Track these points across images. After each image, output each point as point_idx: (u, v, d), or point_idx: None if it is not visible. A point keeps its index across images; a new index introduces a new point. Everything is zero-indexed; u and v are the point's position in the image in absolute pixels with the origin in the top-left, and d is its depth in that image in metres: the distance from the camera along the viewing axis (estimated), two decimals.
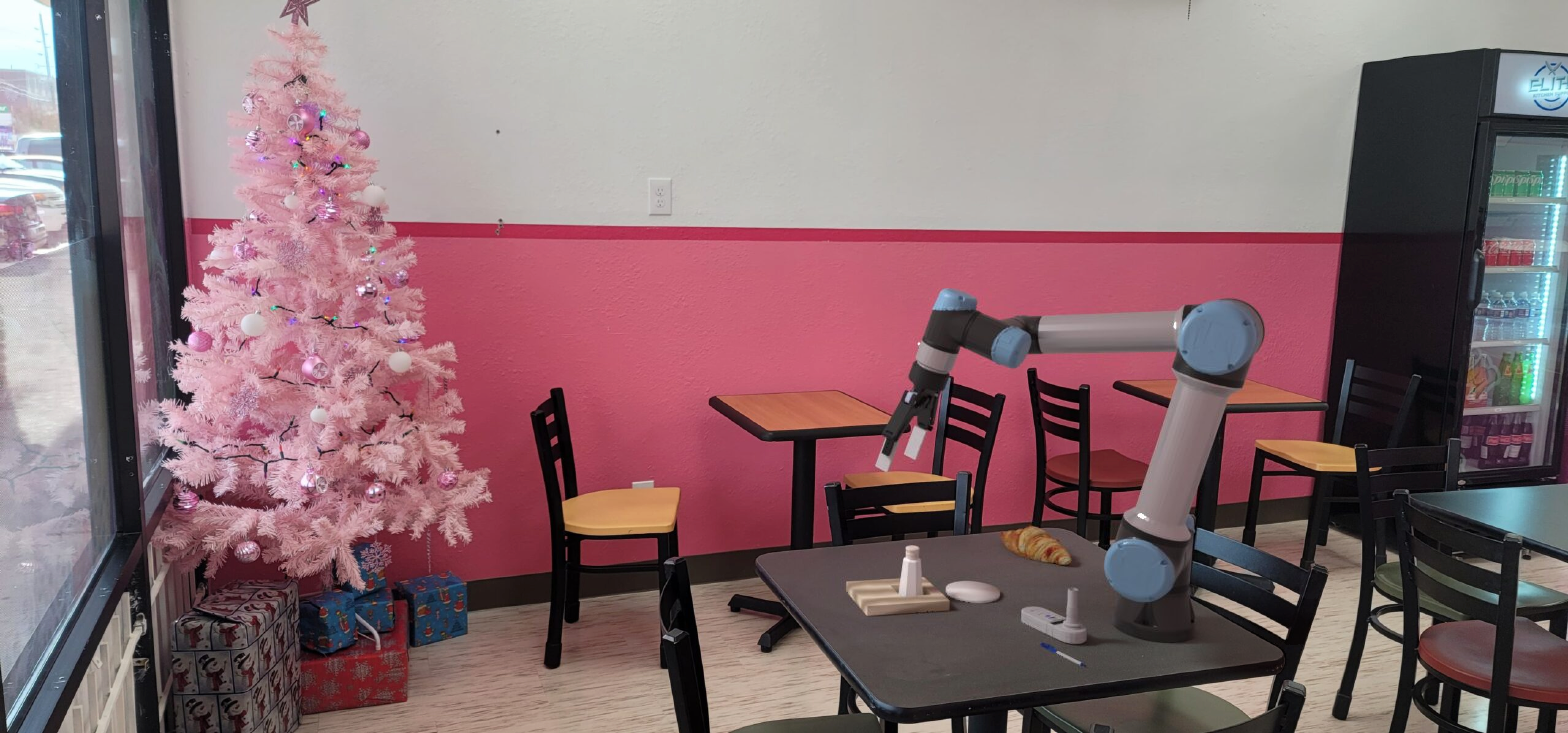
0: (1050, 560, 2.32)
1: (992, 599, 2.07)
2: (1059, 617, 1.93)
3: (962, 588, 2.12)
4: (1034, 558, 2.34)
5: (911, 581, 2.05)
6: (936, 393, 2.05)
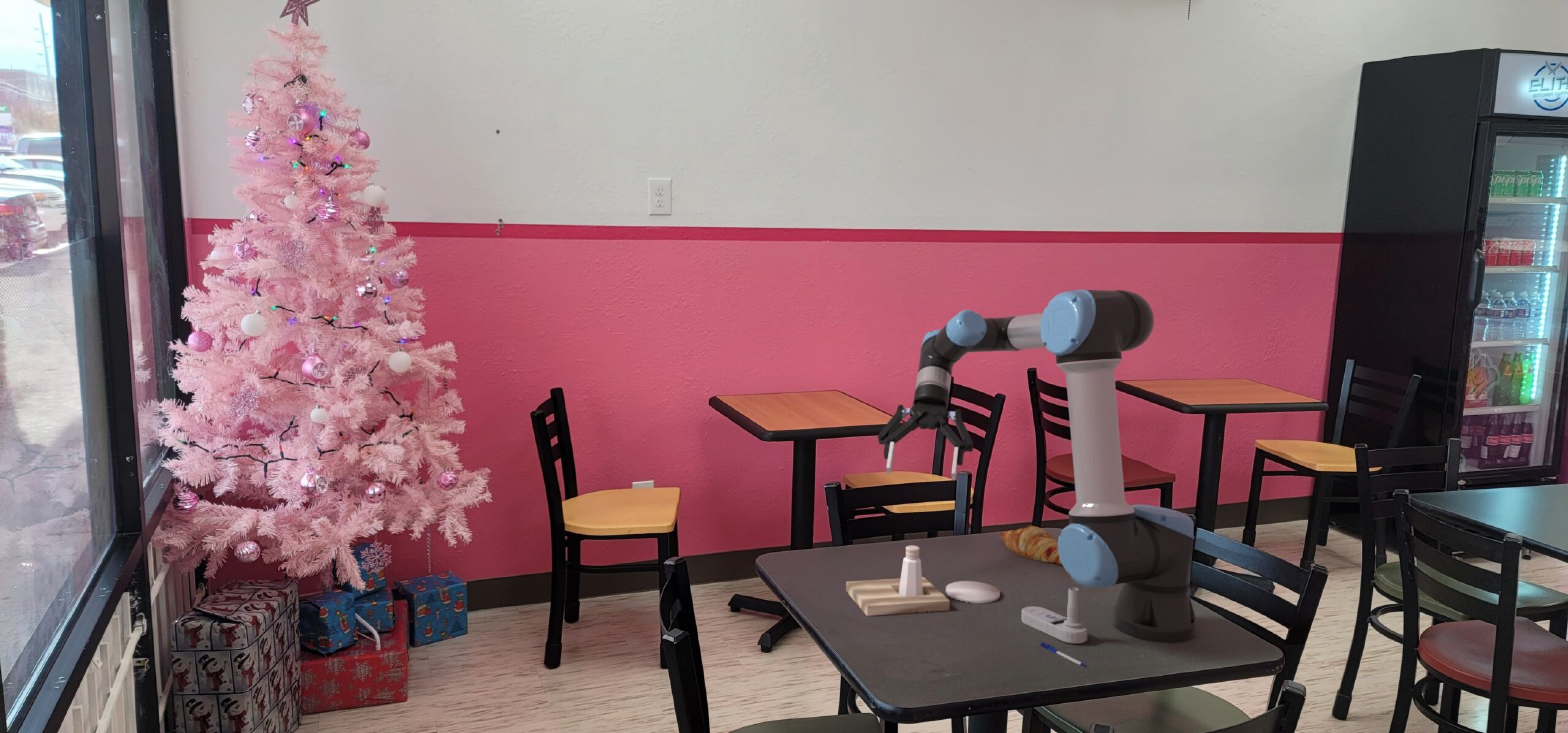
0: (1050, 560, 2.32)
1: (992, 599, 2.07)
2: (1059, 617, 1.93)
3: (962, 588, 2.12)
4: (1034, 558, 2.34)
5: (911, 581, 2.05)
6: None
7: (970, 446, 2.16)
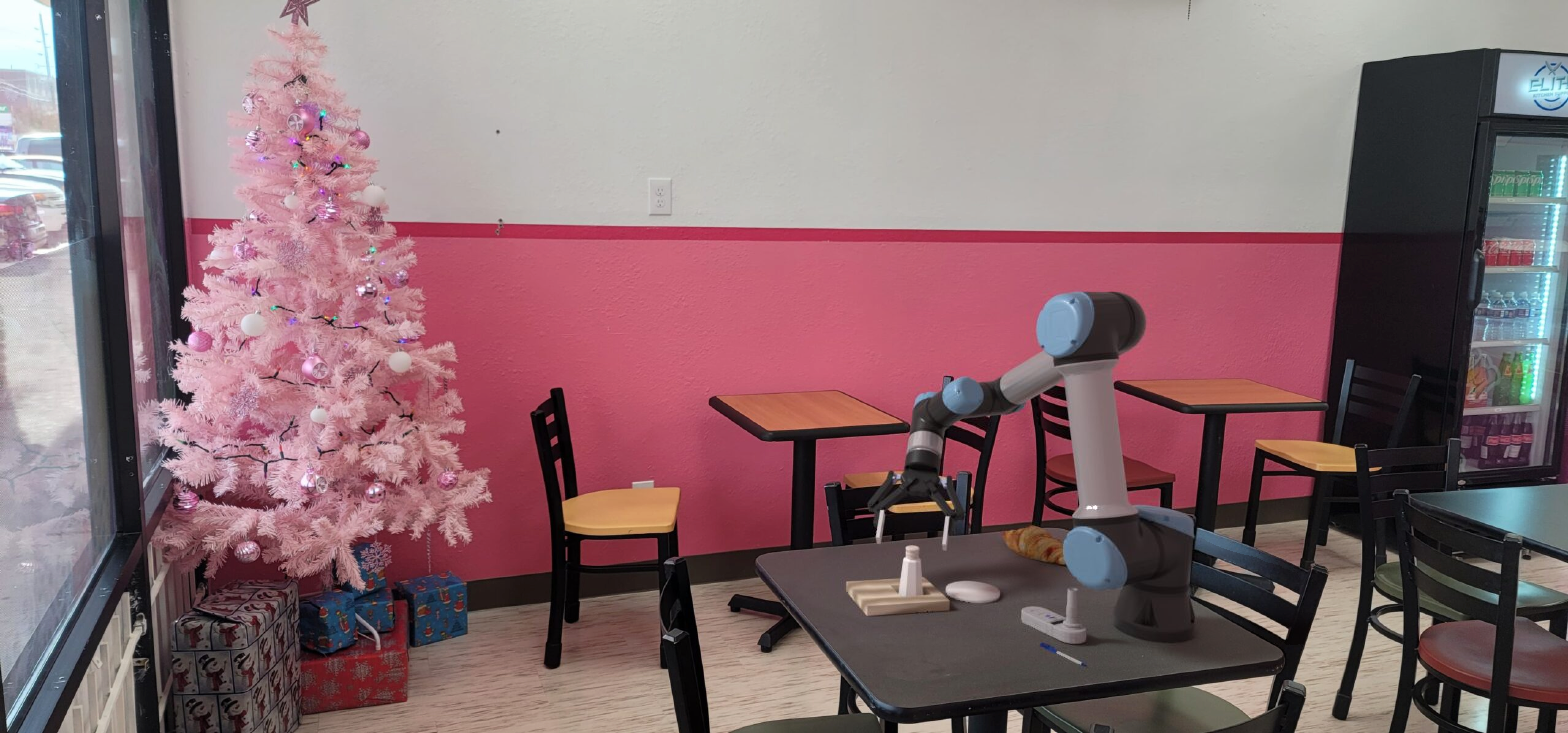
0: (1050, 560, 2.32)
1: (992, 599, 2.07)
2: (1059, 617, 1.93)
3: (962, 588, 2.12)
4: (1034, 558, 2.34)
5: (911, 581, 2.05)
6: None
7: (961, 515, 2.11)
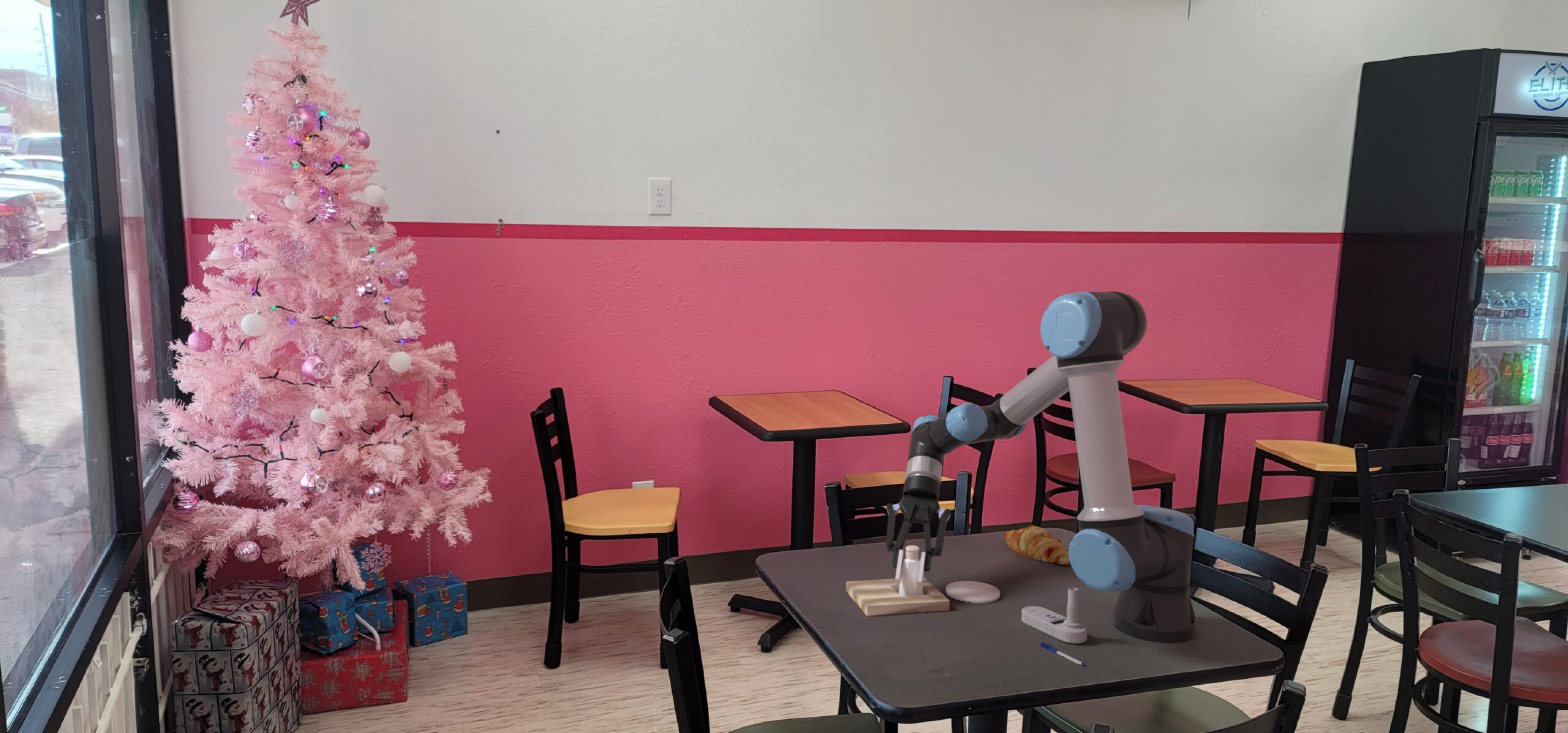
0: (1050, 560, 2.32)
1: (992, 599, 2.07)
2: (1059, 617, 1.93)
3: (962, 588, 2.12)
4: (1034, 558, 2.34)
5: (911, 581, 2.05)
6: None
7: (936, 551, 2.05)
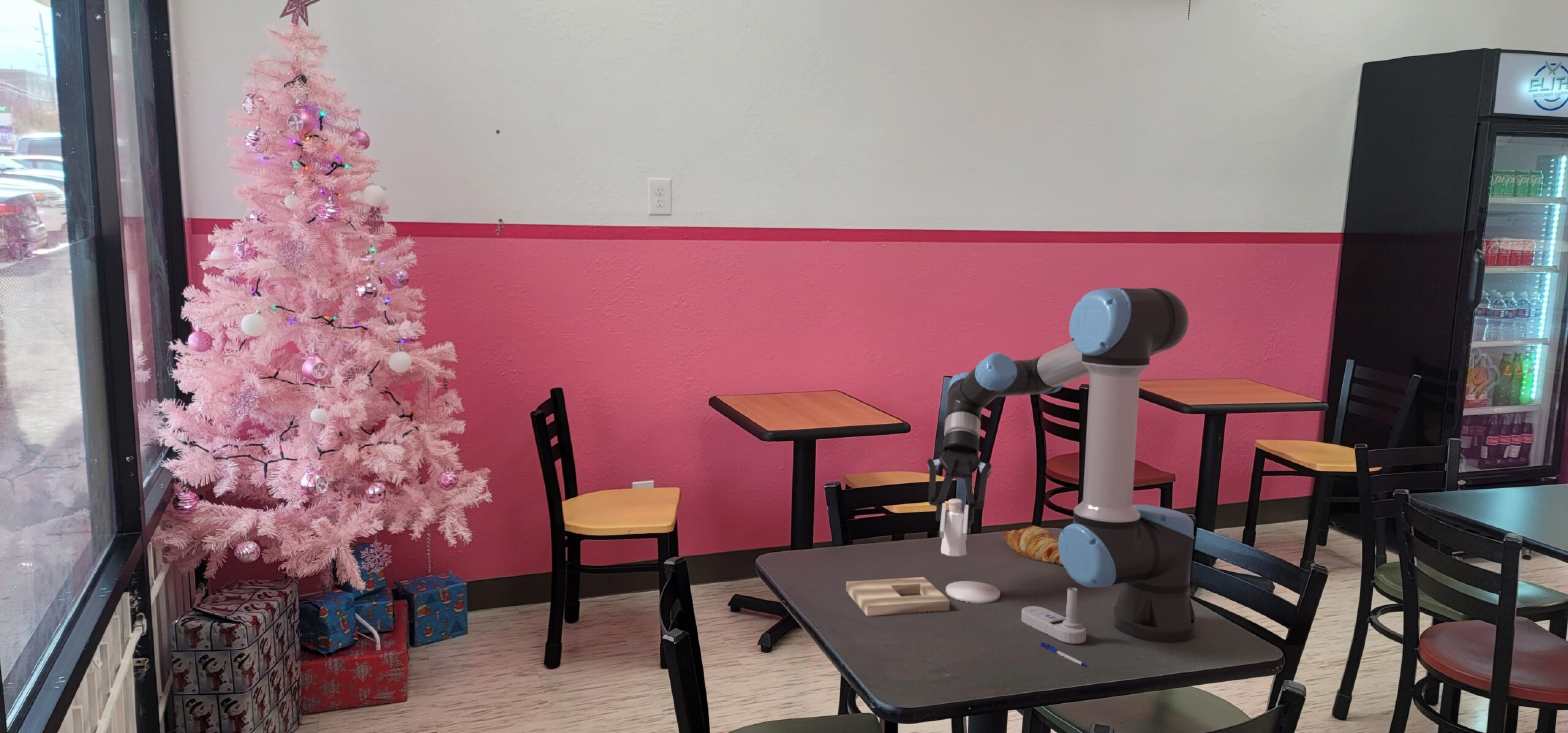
0: (1050, 560, 2.32)
1: (992, 599, 2.07)
2: (1059, 617, 1.93)
3: (962, 588, 2.12)
4: (1035, 558, 2.34)
5: (955, 534, 2.06)
6: None
7: (979, 503, 2.07)
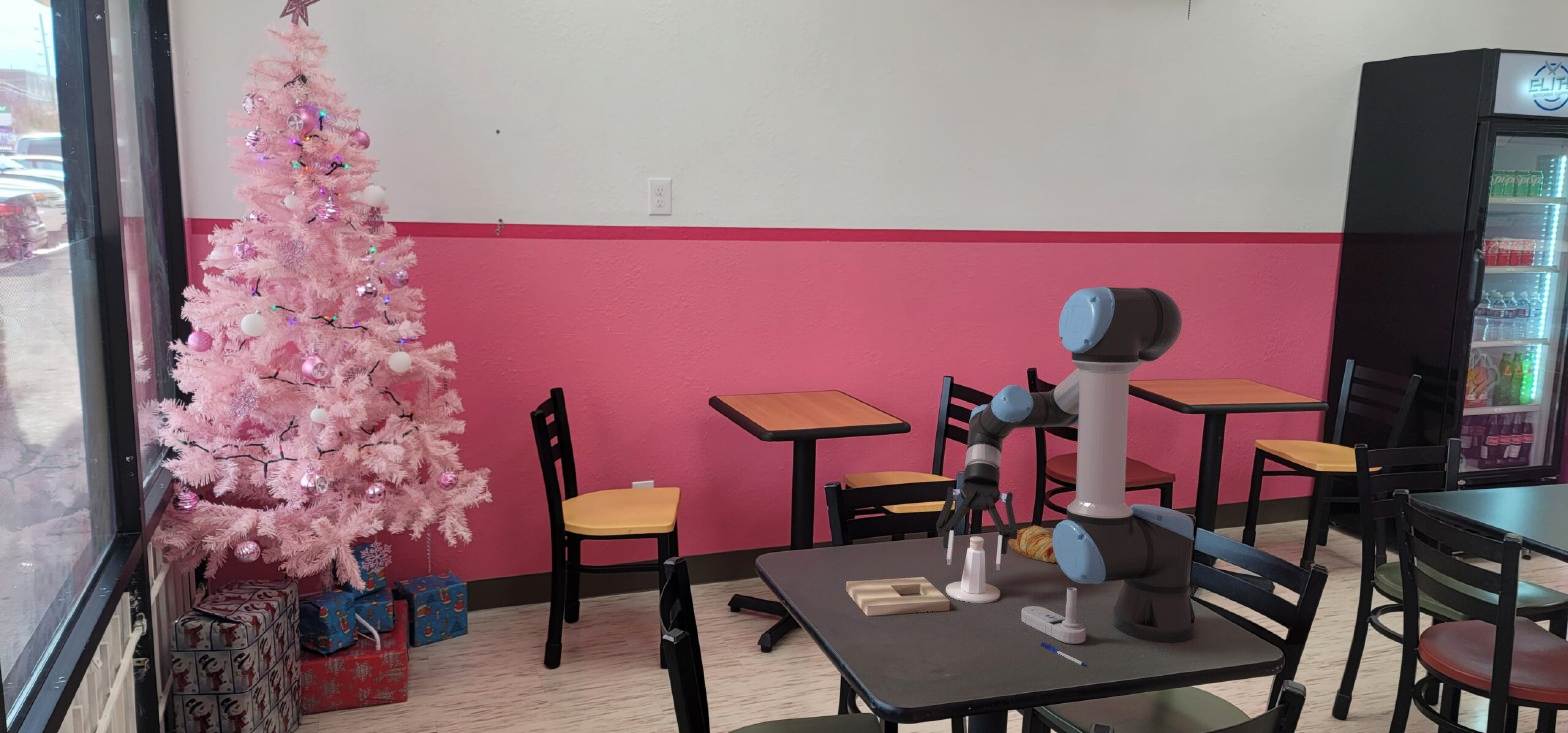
0: (1051, 560, 2.32)
1: (992, 599, 2.07)
2: (1059, 617, 1.93)
3: None
4: (1035, 558, 2.34)
5: (975, 571, 2.09)
6: None
7: (1014, 534, 2.09)
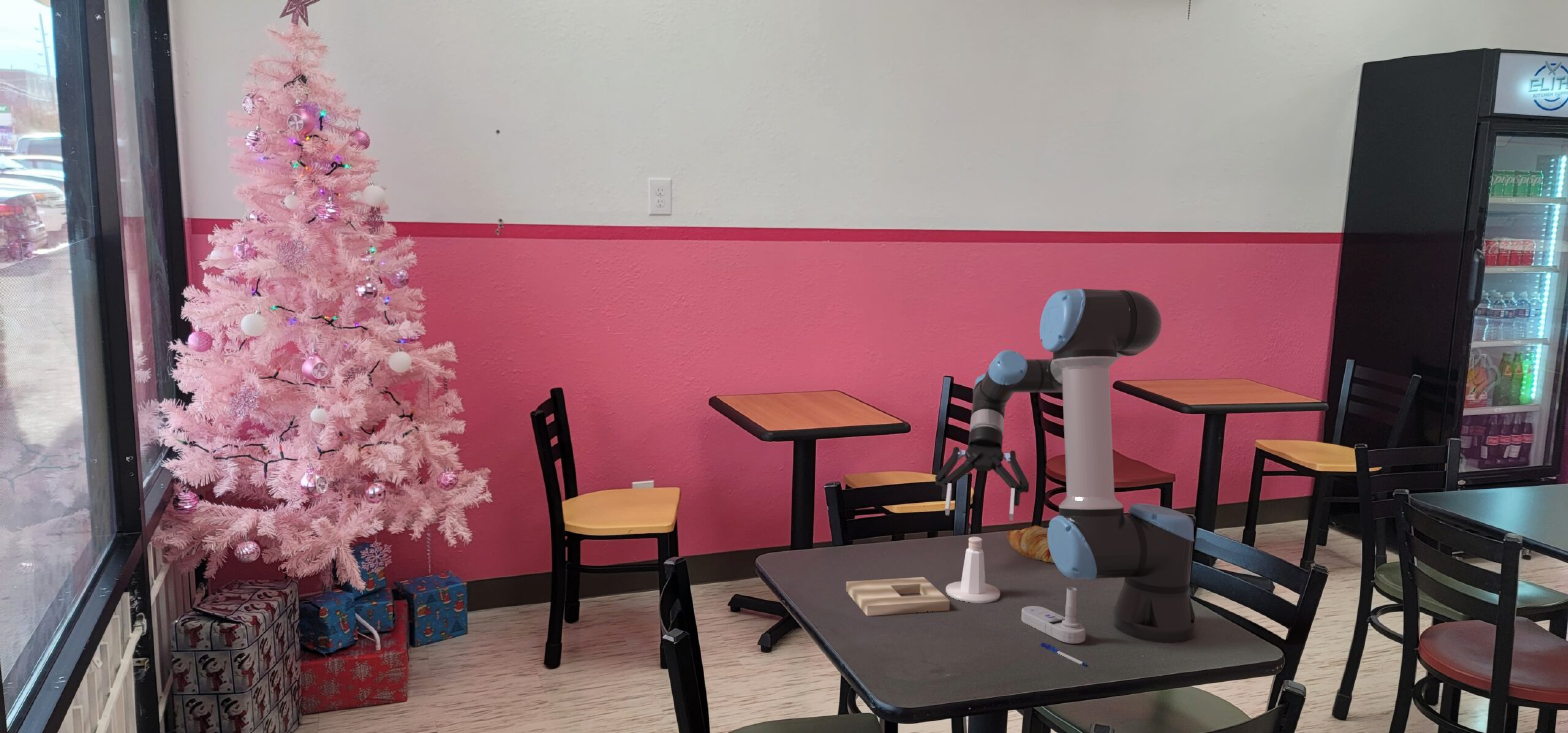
0: (1051, 560, 2.32)
1: (992, 599, 2.07)
2: (1059, 617, 1.93)
3: None
4: (1035, 558, 2.34)
5: (975, 572, 2.09)
6: None
7: (1026, 487, 2.22)
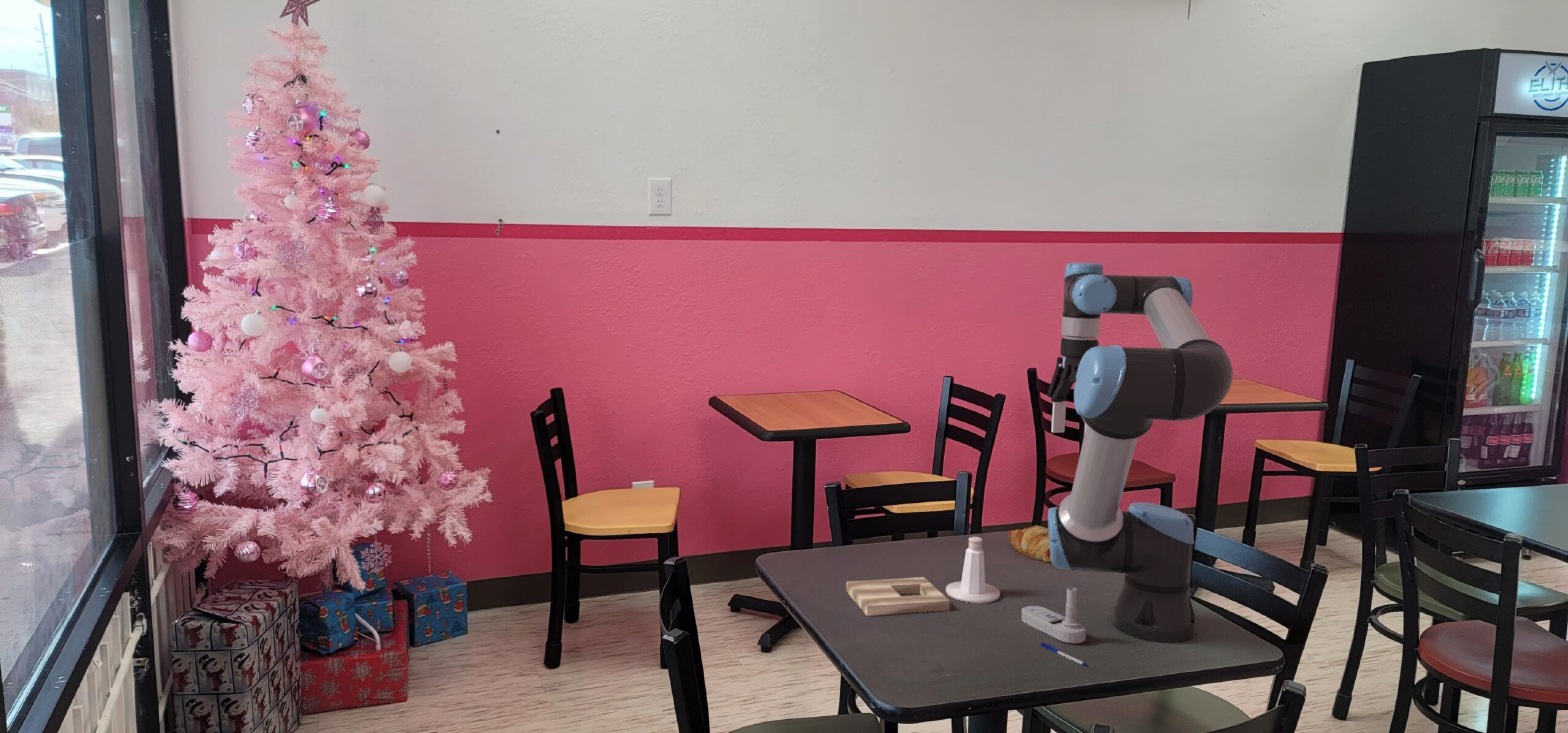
0: None
1: (992, 599, 2.07)
2: (1059, 617, 1.93)
3: None
4: (1035, 557, 2.34)
5: (975, 572, 2.09)
6: None
7: None
